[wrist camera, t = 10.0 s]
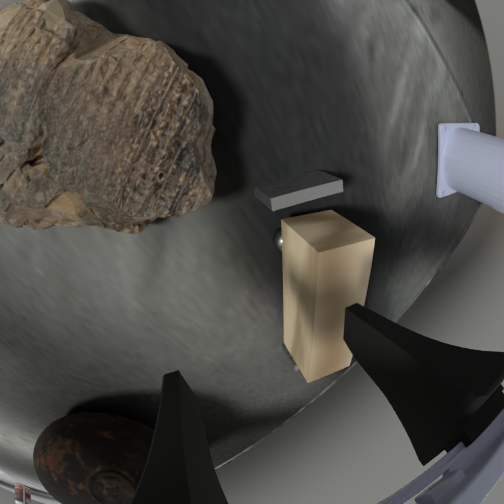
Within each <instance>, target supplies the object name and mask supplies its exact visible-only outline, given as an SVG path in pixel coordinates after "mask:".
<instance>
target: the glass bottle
mask: <svg viewBox="0 0 504 504" xmlns="http://www.w3.org/2000/svg"><path fill="white" fill-rule="evenodd" d="M153 435H154V430H153V429H151V428H149V427H147V426H146V425H144V424H141V423H139V422H137V421H135V420H132V419H129V418H126V417H123V416H119V415H113V414H108V413H98V412H82V413H75V414H70V415H67V416H64V417H62V418H60V419H58V420H56V421H54V422H53V423H51V424H50V425H49V426H48V427H47V428H46V429H45V430H44V431H43V432H42V433H41V435H40V436H39V438H38V440H37V442H36V444H35V448H34V453H33V460H34V467H35V470H36V473H37V476H38V478H39V480H40V482H41V483H42V485H43V486H44V488H45V489H46V490H47V491H48V493H49V494H50V495H52V496H53V497H54V498H55V499H56V500H57V501H59V502H60V503H62V504H130V502H131V500H132V498H133V496H134V494H135V491H136V489H137V487H138V484H139V482H140V479H141V476H142V474H143V471H144V468H145V465H146V462H147V458H148V455H149V452H150V448H151V444H152V440H153Z"/></svg>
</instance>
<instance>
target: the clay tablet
mask: <svg viewBox="0 0 504 504" xmlns="http://www.w3.org/2000/svg"><path fill="white" fill-rule="evenodd" d="M187 67H188V64H187V63H186V62H184V61H183V60H182V59H181V58H180V57H179V56H178V55H177V54H176V53H175V51H174V50H173V49H172V48H170V47H169V46H168V45H166V44H165V43H164V42H162V41H160V40H159V41H155V40H153V39H149V38H140V37H135V36H130V35H129V34H125V35H124V34H114V33H112V32H110V31H108V30H107V29H106V28H105V27H104V26H103V25H101V24H100V23H98V22H96V21H92V20H91V19H89V18H88V17H87V16H85V15H84V14H83V13H81V12H78V11H73V10H71V6H70V3H69V1H67V0H25V1H23V2H20V3H16V2H15V3H14V4H12V5H10V6H6V7H3V8H1V9H0V222H1V223H4V224H6V225H9V226H11V227H16V228H18V227H22V226H23V224H24V225H26V226H28V227H30V228H32V229H34V230H39V229H43V230H44V229H46V228H48V227H51V226H54V225H58V226H67V227H81V226H83V225H87V226H98V227H102V228H107V229H112V230H116V231H118V232H125V233H131V234H135V233H140V232H141V231H142V230H143V229H145V228H146V227H147V226H148V225H149V224H150V223H151V222H152V221H154V220H155V219H156V218H157V217H161V218H165V217H167V216H175V217H178V216H180V215H182V214H185V213H189V212H192V211H196V210H199V209H200V208H202V207H203V206H205V205H207V204H208V203H210V202H211V200H212V197H213V195H214V184H215V179H216V175H217V170H216V165H215V161H214V158H213V157H212V152H211V142H212V137H213V135H214V132H215V130H216V129H215V128H214V126H213V124H212V122H213V100H212V99H211V96H210V94H209V92H208V90H207V88H206V86H205V83H204V81H203V79H202V78H200V77H199V76H198V75H196V74H195V73H194V72H193V71H191V70H189V69H188V68H187Z"/></svg>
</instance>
